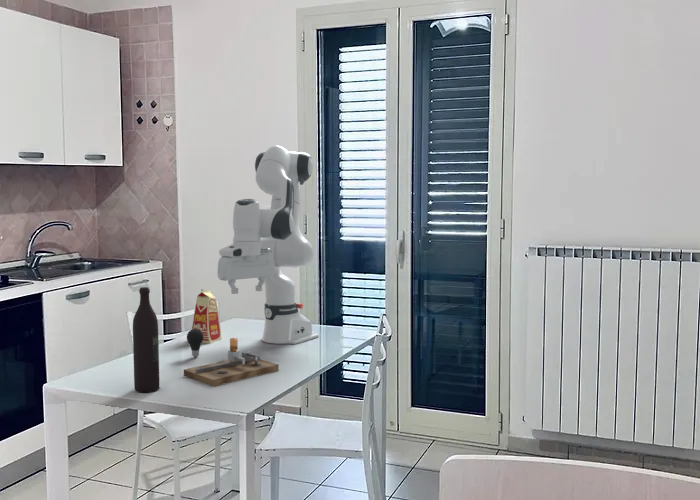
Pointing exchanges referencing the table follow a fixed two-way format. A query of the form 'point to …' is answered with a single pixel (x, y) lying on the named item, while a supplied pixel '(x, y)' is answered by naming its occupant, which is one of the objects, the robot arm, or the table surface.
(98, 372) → the table surface
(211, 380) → the brown wooden board
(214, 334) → the milk carton
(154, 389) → the wine bottle
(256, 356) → the bar
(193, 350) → the black light bulb
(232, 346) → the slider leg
